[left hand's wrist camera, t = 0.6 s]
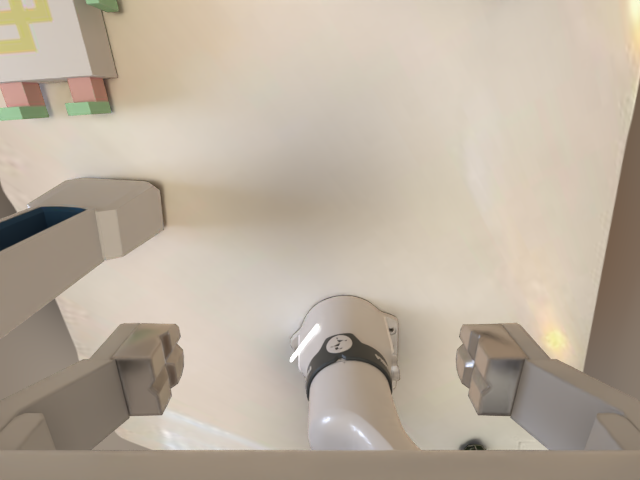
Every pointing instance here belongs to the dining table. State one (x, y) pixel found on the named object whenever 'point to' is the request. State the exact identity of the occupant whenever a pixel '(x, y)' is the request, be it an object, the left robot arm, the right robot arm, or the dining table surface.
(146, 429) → the dining table surface
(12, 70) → the decorative block
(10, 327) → the electronic device
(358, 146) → the dining table surface
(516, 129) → the dining table surface
